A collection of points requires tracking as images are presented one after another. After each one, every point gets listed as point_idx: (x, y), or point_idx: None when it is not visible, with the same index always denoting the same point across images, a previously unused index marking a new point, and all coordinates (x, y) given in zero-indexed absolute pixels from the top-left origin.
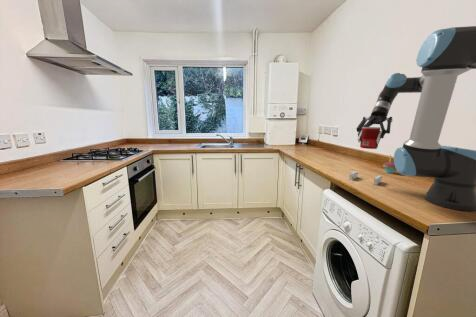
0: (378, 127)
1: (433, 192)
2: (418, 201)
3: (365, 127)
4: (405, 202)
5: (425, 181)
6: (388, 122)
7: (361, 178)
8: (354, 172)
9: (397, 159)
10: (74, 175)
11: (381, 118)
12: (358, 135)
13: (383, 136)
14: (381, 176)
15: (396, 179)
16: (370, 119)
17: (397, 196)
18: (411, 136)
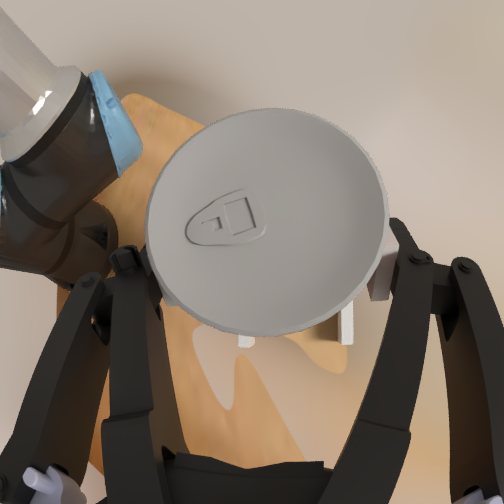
0: (157, 181)
1: (93, 208)
2: (129, 198)
3: (309, 115)
4: (152, 163)
5: None
6: (44, 388)
7: (317, 335)
8: (345, 308)
9: (124, 112)
10: None
11: (107, 501)
12: (389, 223)
13: None
14: (238, 340)
15: (212, 429)
16: (380, 490)
17: None
18: (48, 60)
